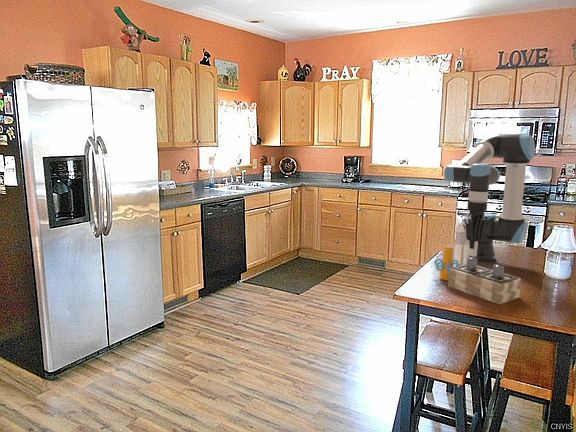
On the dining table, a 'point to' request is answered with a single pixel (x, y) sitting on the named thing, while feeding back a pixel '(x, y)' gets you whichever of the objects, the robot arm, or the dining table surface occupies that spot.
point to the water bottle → (461, 245)
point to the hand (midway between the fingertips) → (472, 255)
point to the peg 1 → (471, 264)
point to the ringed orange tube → (446, 263)
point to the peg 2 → (498, 271)
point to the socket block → (484, 284)
